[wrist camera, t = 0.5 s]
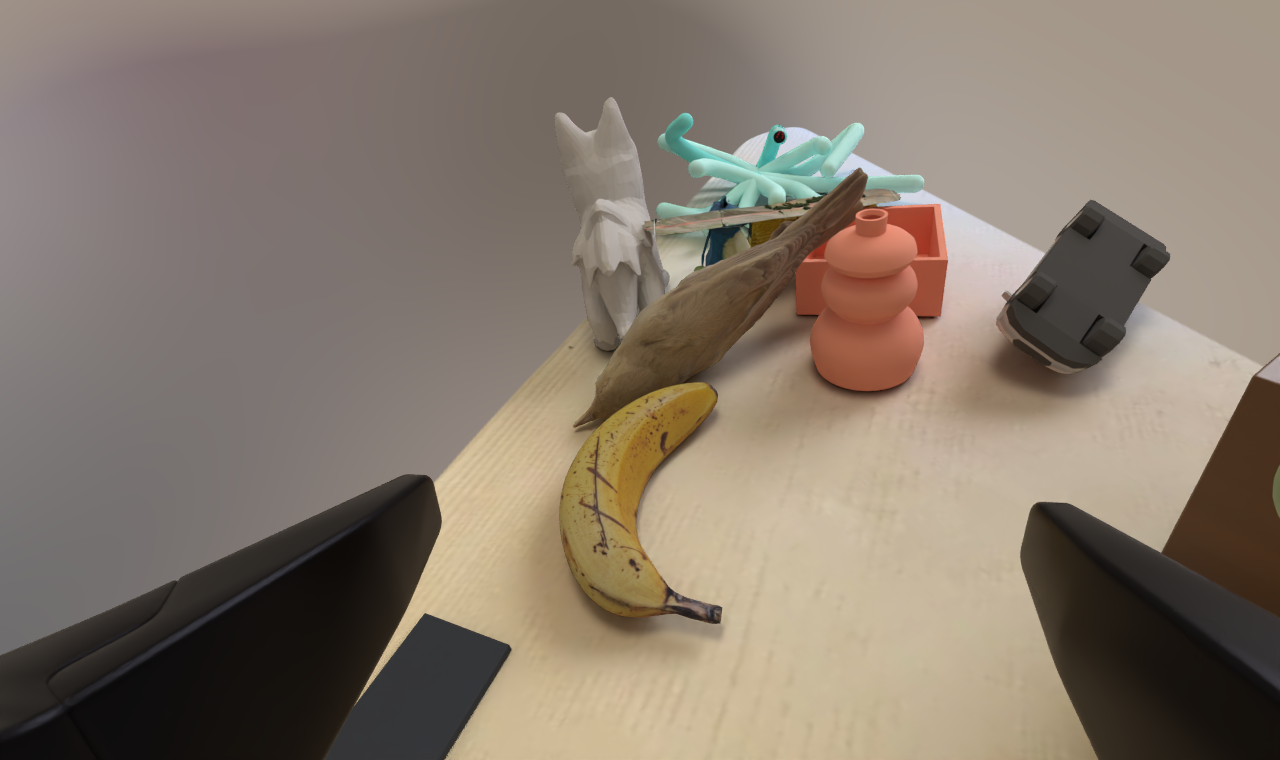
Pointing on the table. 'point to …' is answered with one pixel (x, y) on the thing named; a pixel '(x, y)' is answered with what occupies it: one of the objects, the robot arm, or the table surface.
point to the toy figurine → (723, 238)
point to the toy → (610, 224)
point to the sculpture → (716, 305)
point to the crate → (1239, 501)
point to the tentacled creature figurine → (773, 168)
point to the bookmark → (753, 213)
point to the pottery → (874, 295)
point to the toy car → (1082, 291)
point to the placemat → (421, 695)
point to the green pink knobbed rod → (1277, 491)
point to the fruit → (628, 503)
